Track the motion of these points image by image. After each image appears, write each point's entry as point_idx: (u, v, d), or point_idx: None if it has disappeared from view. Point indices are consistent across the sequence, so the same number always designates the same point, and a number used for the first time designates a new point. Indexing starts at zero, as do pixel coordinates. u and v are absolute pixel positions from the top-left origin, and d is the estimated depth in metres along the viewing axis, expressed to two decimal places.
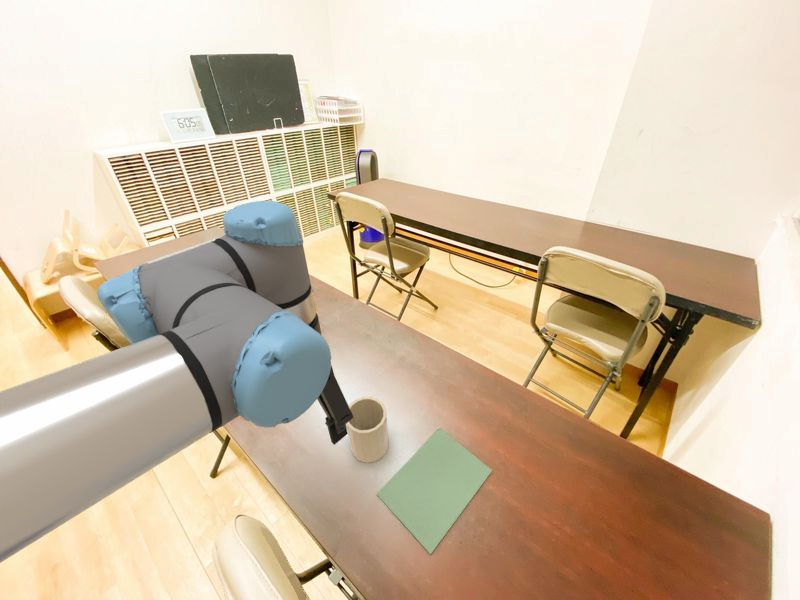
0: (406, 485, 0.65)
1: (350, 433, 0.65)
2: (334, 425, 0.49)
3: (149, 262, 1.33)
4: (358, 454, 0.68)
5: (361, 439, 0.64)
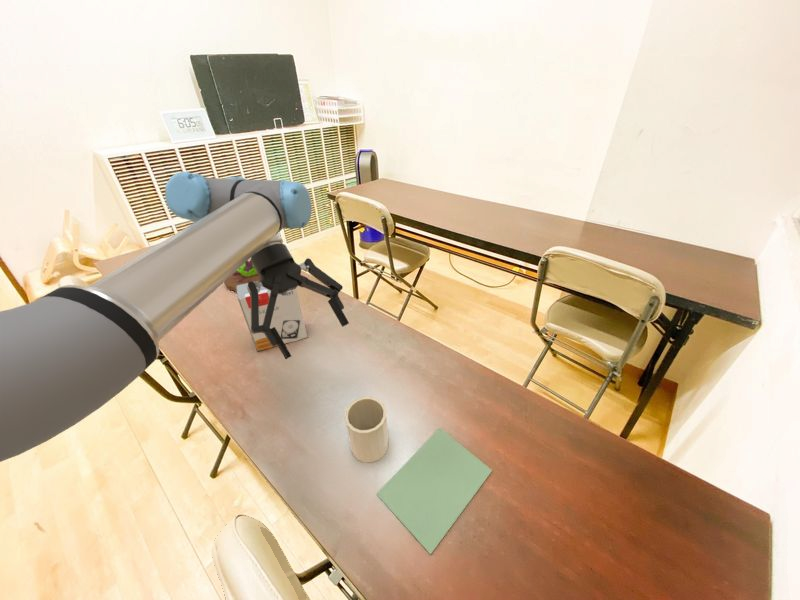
0: (406, 485, 0.65)
1: (350, 433, 0.65)
2: (337, 303, 0.70)
3: None
4: (358, 454, 0.68)
5: (361, 439, 0.64)
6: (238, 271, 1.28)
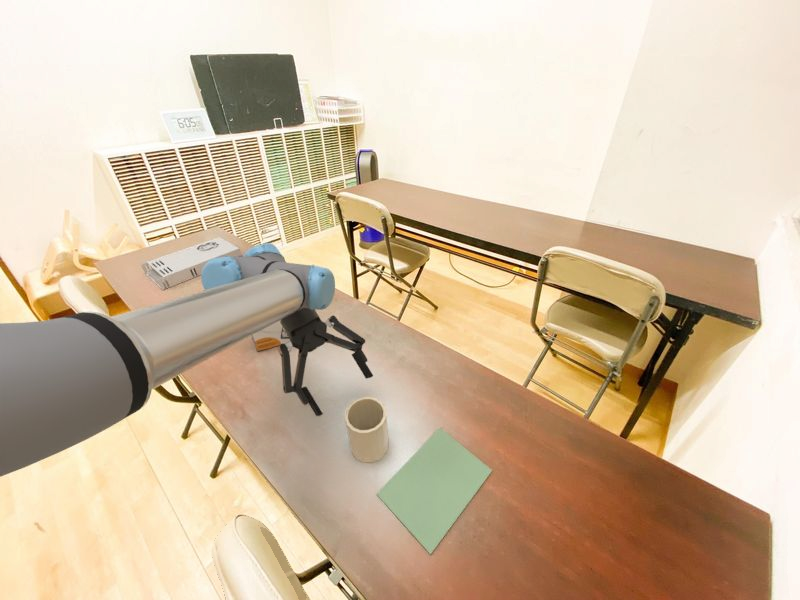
0: (406, 485, 0.65)
1: (350, 433, 0.65)
2: (361, 356, 0.73)
3: (149, 262, 1.33)
4: (358, 454, 0.68)
5: (361, 439, 0.64)
6: None
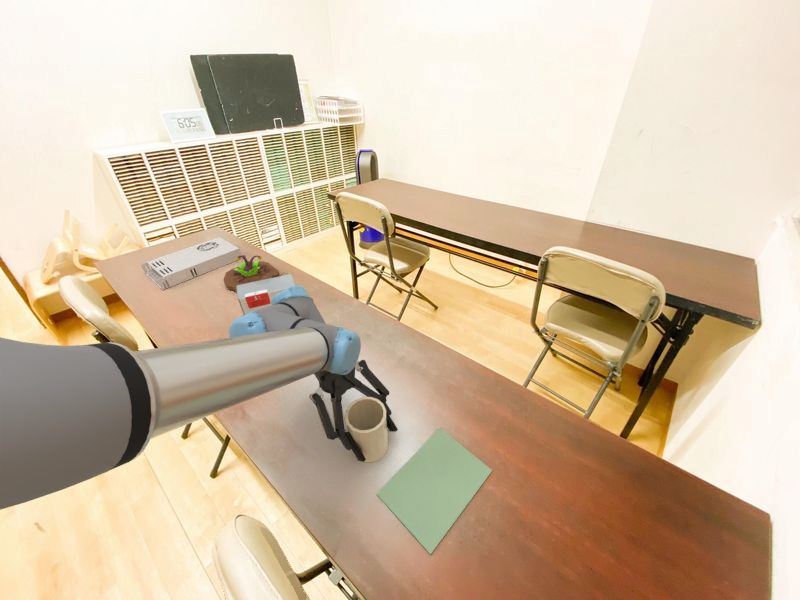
0: (406, 485, 0.65)
1: (350, 433, 0.65)
2: None
3: (149, 262, 1.33)
4: None
5: (361, 439, 0.64)
6: (238, 271, 1.28)
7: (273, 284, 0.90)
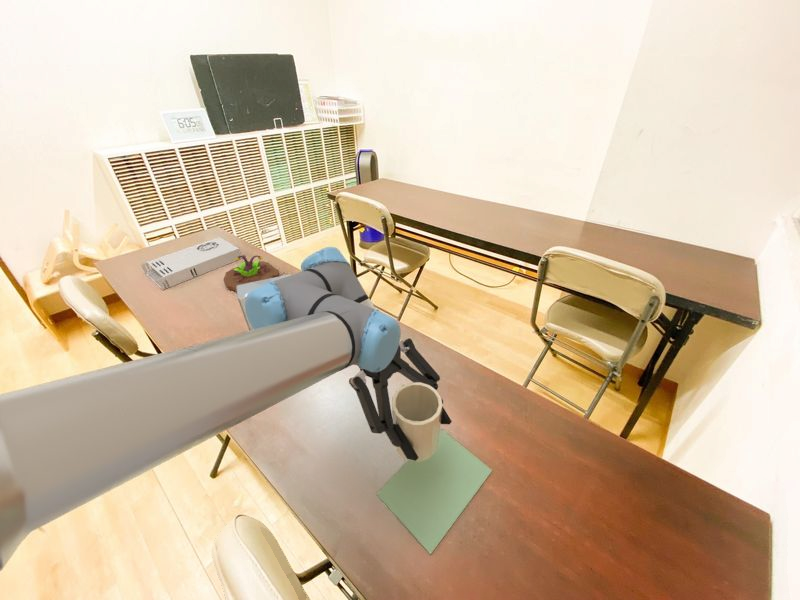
0: (406, 485, 0.65)
1: (399, 425, 0.53)
2: None
3: (149, 262, 1.33)
4: None
5: (413, 433, 0.52)
6: (238, 271, 1.28)
7: None
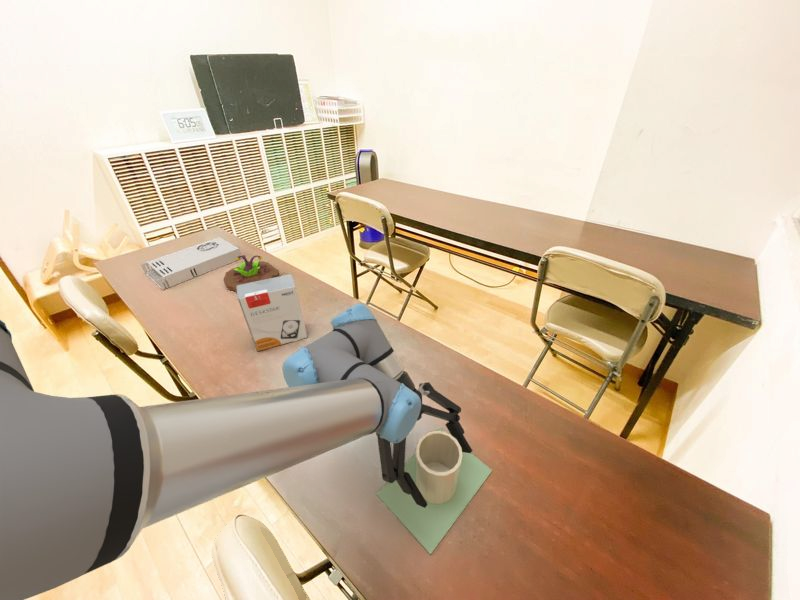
0: None
1: (423, 474, 0.58)
2: None
3: (149, 262, 1.33)
4: (428, 495, 0.61)
5: (436, 481, 0.57)
6: (238, 271, 1.28)
7: (273, 284, 0.90)
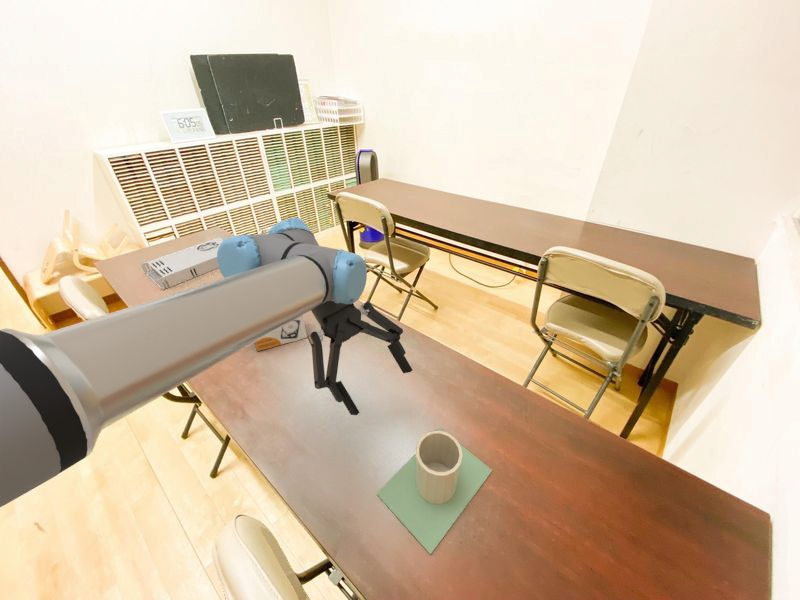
0: (406, 485, 0.65)
1: (423, 474, 0.58)
2: (399, 348, 0.65)
3: (149, 262, 1.33)
4: (428, 495, 0.61)
5: (436, 481, 0.57)
6: None
7: None
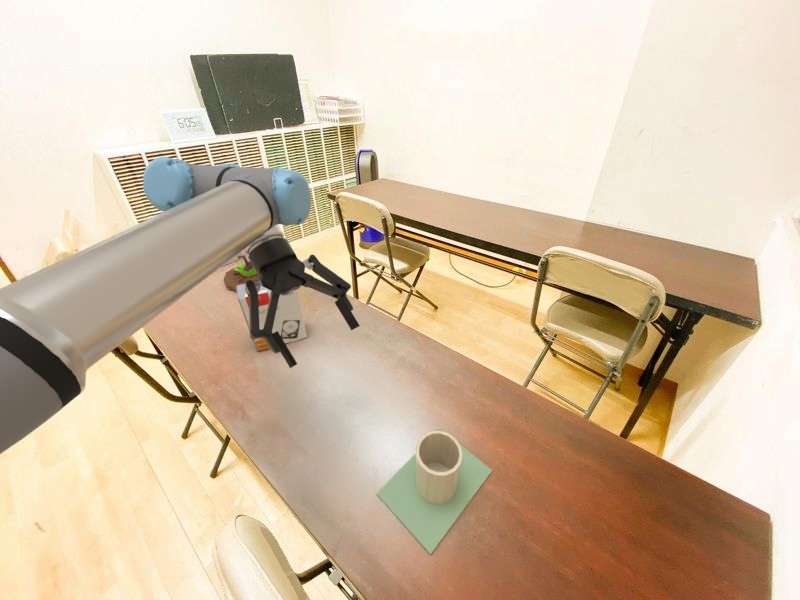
0: (406, 485, 0.65)
1: (423, 474, 0.58)
2: (346, 303, 0.63)
3: None
4: (428, 495, 0.61)
5: (436, 481, 0.57)
6: (238, 271, 1.28)
7: None
